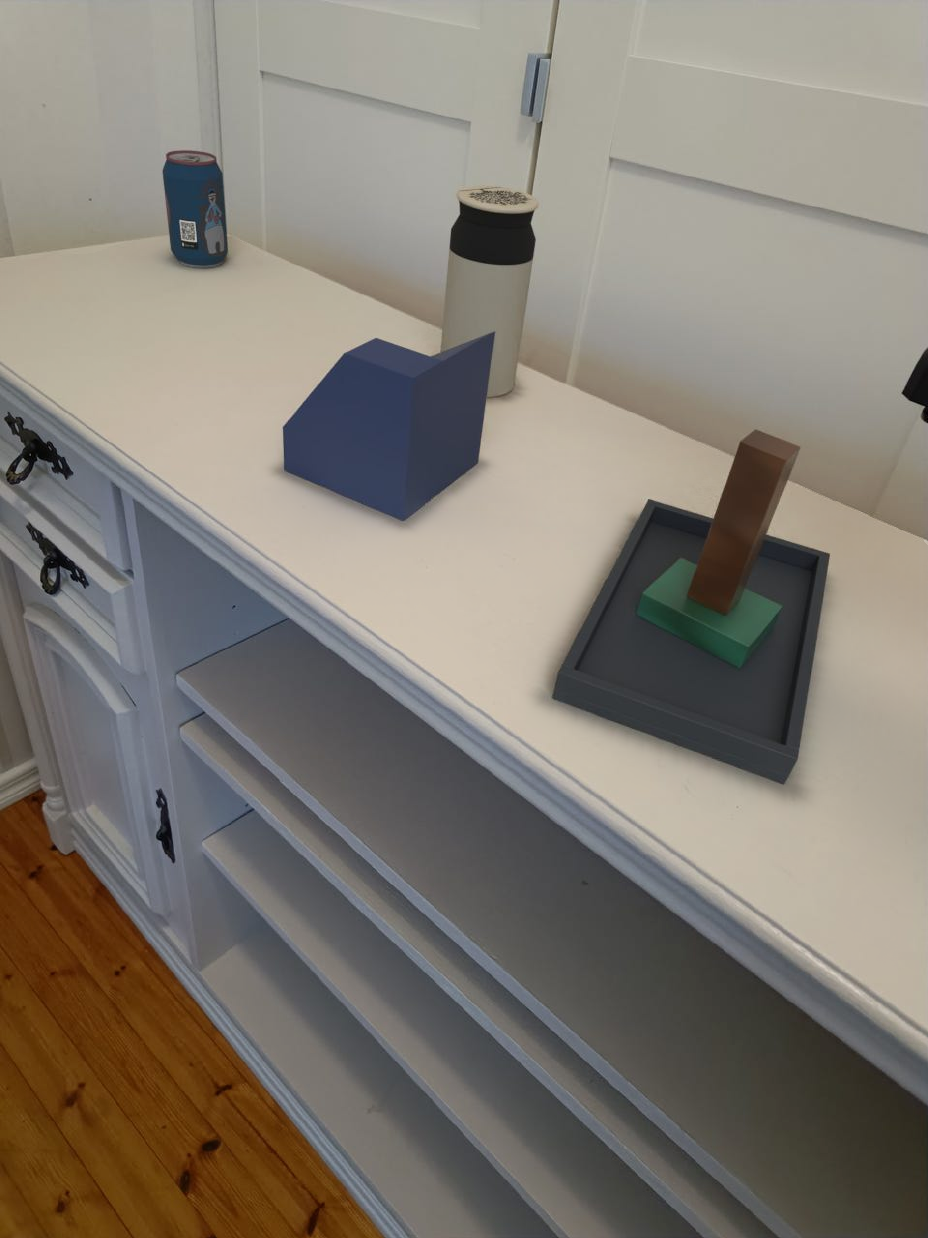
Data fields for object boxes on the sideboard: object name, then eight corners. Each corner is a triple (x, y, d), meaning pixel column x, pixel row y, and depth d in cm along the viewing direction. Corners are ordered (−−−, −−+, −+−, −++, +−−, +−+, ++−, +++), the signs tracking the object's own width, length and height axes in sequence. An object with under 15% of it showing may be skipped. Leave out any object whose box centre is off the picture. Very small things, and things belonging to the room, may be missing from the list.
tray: (641, 521, 71) (648, 498, 69) (819, 577, 67) (830, 553, 66) (551, 698, 54) (557, 672, 52) (784, 785, 50) (797, 759, 49)
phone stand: (367, 420, 80) (372, 291, 72) (478, 463, 76) (495, 330, 68) (284, 470, 71) (279, 329, 64) (403, 520, 67) (413, 377, 60)
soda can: (183, 248, 111) (173, 145, 103) (235, 256, 111) (229, 153, 103) (163, 264, 106) (151, 157, 98) (218, 272, 106) (210, 166, 98)
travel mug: (528, 393, 88) (558, 206, 76) (462, 404, 84) (484, 210, 73) (488, 362, 93) (510, 182, 81) (424, 372, 89) (438, 185, 78)
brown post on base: (773, 627, 60) (851, 452, 51) (739, 669, 56) (817, 487, 48) (673, 578, 64) (730, 405, 55) (635, 614, 60) (689, 435, 51)
